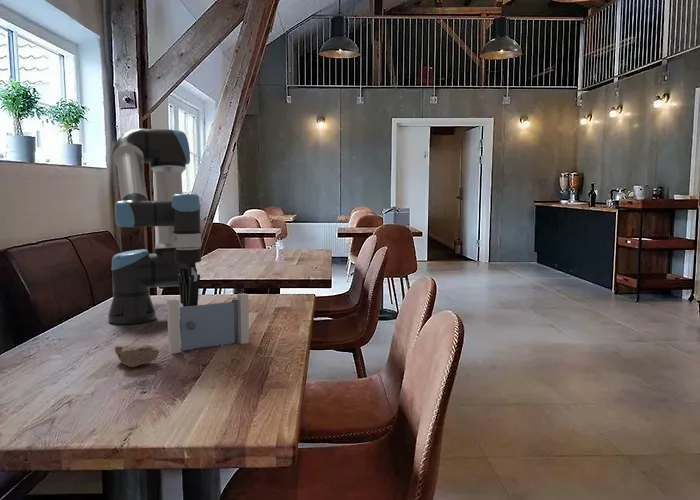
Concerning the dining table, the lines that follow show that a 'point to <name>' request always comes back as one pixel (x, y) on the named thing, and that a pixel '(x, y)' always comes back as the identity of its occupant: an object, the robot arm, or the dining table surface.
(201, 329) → the door
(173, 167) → the robot arm
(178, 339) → the pair of grey bars
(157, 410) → the dining table surface
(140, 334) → the dining table surface
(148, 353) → the stone
